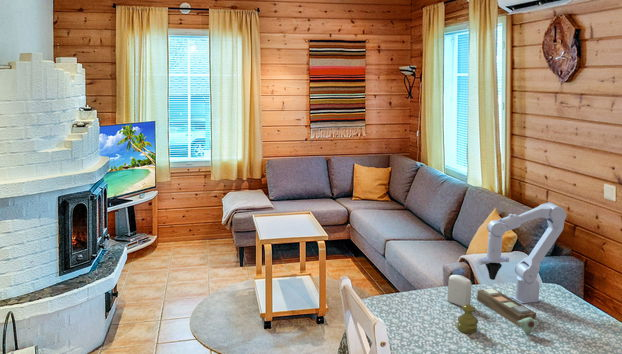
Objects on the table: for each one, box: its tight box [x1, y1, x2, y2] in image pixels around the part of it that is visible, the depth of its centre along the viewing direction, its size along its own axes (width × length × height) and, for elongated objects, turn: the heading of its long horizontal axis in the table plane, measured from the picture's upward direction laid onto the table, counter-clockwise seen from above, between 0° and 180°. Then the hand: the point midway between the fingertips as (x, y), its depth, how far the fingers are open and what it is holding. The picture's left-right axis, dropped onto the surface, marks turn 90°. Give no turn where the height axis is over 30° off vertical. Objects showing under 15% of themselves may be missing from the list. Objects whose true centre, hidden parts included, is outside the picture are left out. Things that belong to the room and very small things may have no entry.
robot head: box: [517, 317, 539, 335], centre depth 219 cm, size 8×4×7 cm, turn 96°
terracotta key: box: [493, 296, 507, 301], centre depth 243 cm, size 4×4×2 cm
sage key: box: [503, 302, 518, 307], centre depth 237 cm, size 4×4×2 cm
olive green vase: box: [456, 303, 479, 334], centre depth 222 cm, size 7×7×10 cm
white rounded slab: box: [447, 274, 472, 307], centre depth 247 cm, size 10×4×12 cm, turn 39°
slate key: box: [513, 305, 531, 314], centre depth 231 cm, size 4×4×2 cm
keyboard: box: [476, 288, 537, 327], centre depth 240 cm, size 8×28×4 cm, turn 19°
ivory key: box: [483, 288, 500, 295], centre depth 249 cm, size 4×4×2 cm
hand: (492, 279), depth 251 cm, fingers closed
